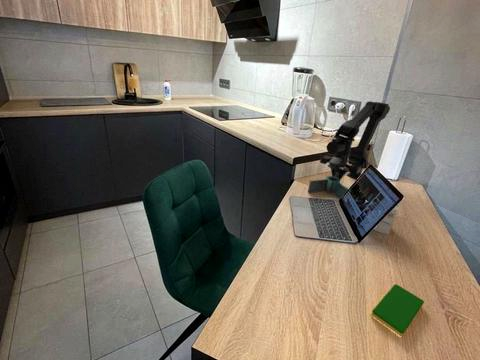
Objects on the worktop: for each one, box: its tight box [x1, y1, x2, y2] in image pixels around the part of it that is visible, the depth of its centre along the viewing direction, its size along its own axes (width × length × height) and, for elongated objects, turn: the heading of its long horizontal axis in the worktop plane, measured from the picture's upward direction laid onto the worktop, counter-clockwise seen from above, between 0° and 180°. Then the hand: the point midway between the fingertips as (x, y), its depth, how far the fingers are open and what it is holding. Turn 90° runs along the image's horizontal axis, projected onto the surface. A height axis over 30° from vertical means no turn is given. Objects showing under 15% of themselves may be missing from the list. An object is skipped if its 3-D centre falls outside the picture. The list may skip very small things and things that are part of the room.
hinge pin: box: [334, 168, 343, 178], centre depth 130 cm, size 3×3×8 cm
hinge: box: [307, 175, 350, 199], centre depth 119 cm, size 14×17×6 cm
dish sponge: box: [370, 283, 425, 337], centre depth 65 cm, size 7×14×2 cm, turn 130°
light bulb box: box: [364, 199, 399, 236], centre depth 97 cm, size 11×7×11 cm, turn 58°
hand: (336, 180), depth 131 cm, fingers closed on hinge pin, 3 cm apart
